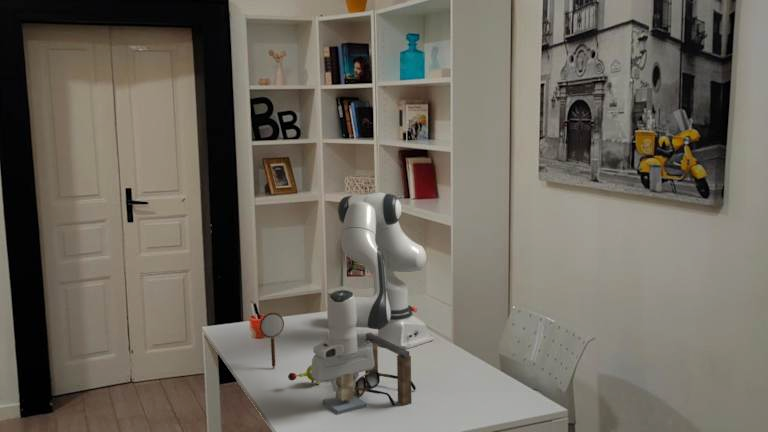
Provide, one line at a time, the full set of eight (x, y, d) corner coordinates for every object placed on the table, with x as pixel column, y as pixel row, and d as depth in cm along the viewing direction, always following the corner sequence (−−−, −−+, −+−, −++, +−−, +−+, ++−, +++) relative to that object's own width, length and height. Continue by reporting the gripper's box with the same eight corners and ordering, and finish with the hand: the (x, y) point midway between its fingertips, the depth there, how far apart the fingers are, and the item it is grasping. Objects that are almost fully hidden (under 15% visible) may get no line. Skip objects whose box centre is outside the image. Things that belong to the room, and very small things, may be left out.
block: (347, 393, 232) (346, 368, 231) (353, 397, 229) (352, 372, 228) (335, 396, 230) (335, 371, 229) (342, 400, 227) (341, 375, 226)
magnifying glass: (262, 371, 260) (260, 315, 257) (261, 370, 261) (258, 314, 258) (286, 367, 264) (284, 311, 261) (284, 365, 265) (282, 310, 262)
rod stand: (373, 381, 249) (372, 337, 247) (411, 403, 230) (410, 356, 228) (365, 382, 247) (364, 339, 245) (403, 405, 229) (402, 358, 226)
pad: (350, 396, 237) (350, 393, 236) (367, 406, 228) (367, 403, 228) (322, 403, 231) (322, 400, 231) (338, 414, 223) (337, 411, 223)
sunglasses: (394, 406, 228) (393, 390, 227) (351, 397, 235) (351, 381, 235) (415, 390, 240) (415, 375, 239) (375, 382, 247) (374, 367, 247)
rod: (370, 337, 247) (370, 332, 246) (409, 356, 227) (409, 351, 227) (366, 338, 246) (365, 333, 246) (404, 357, 226) (404, 352, 226)
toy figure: (292, 392, 240) (291, 372, 239) (286, 387, 245) (285, 367, 244) (343, 382, 248) (343, 362, 247) (336, 377, 253) (336, 357, 252)
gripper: (367, 336, 235) (368, 378, 237) (308, 348, 224) (309, 392, 227) (377, 341, 230) (378, 384, 232) (317, 354, 219) (319, 399, 221)
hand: (344, 388), depth 229 cm, fingers closed on block, 4 cm apart
